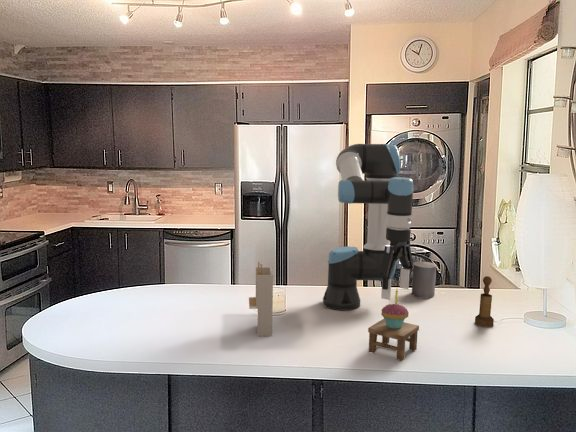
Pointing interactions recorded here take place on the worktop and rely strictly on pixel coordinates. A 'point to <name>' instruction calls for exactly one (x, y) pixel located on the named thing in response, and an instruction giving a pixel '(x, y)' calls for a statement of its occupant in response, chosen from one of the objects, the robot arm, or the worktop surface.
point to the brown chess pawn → (485, 306)
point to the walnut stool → (399, 334)
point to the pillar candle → (424, 279)
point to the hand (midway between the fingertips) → (395, 293)
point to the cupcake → (394, 314)
